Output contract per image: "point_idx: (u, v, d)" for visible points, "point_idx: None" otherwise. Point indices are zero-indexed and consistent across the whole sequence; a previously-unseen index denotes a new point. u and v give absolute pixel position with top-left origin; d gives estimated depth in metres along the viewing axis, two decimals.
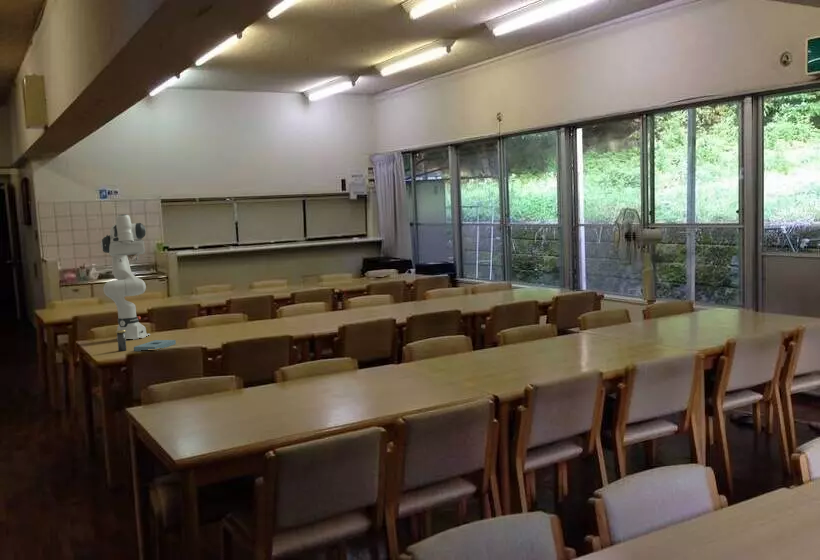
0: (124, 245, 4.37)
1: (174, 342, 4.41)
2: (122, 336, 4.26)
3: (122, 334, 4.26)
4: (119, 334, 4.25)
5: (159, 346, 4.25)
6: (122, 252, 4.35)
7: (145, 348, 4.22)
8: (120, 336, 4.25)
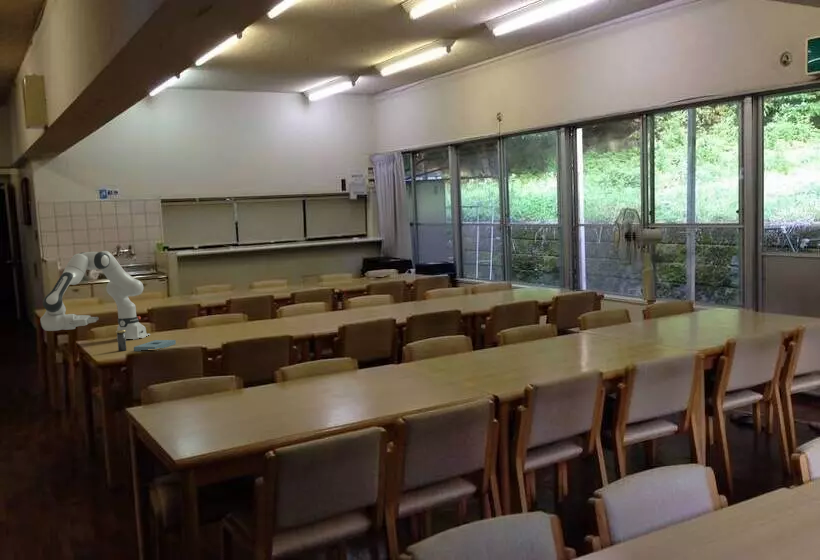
0: None
1: (174, 342, 4.41)
2: (122, 336, 4.26)
3: (122, 334, 4.26)
4: (119, 334, 4.25)
5: (159, 346, 4.25)
6: None
7: (145, 348, 4.22)
8: (120, 336, 4.25)
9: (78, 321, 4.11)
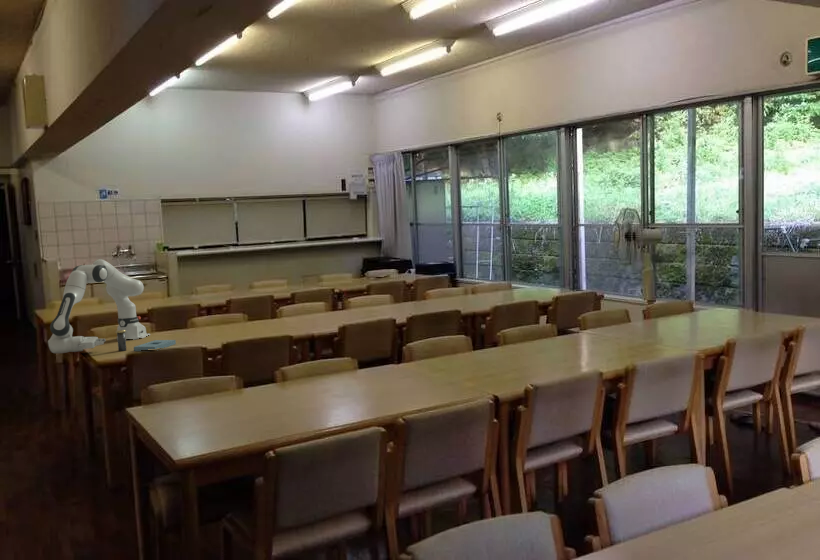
0: None
1: (174, 342, 4.41)
2: (122, 336, 4.26)
3: (122, 334, 4.26)
4: (119, 334, 4.25)
5: (159, 346, 4.25)
6: None
7: (145, 348, 4.22)
8: (120, 336, 4.25)
9: (86, 344, 4.13)
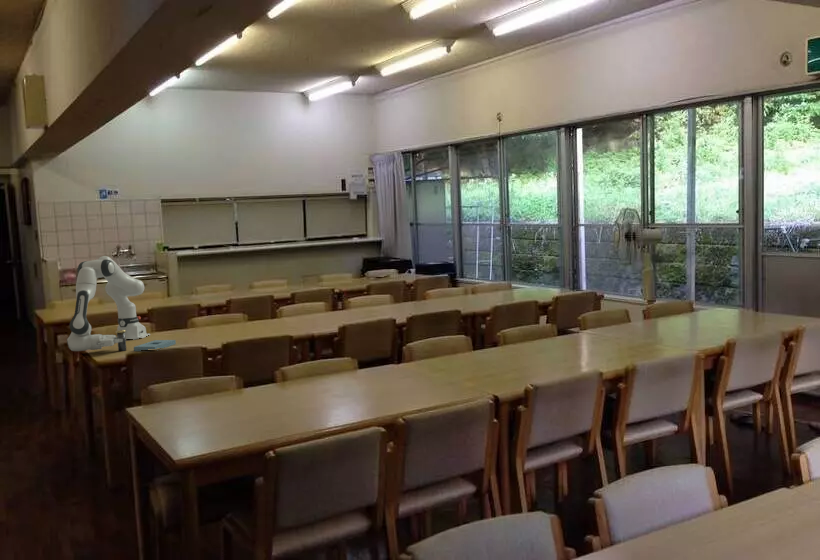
0: None
1: (174, 342, 4.41)
2: (122, 336, 4.26)
3: (122, 334, 4.26)
4: (119, 334, 4.25)
5: (159, 346, 4.25)
6: None
7: (145, 348, 4.22)
8: (120, 336, 4.25)
9: (105, 342, 4.16)
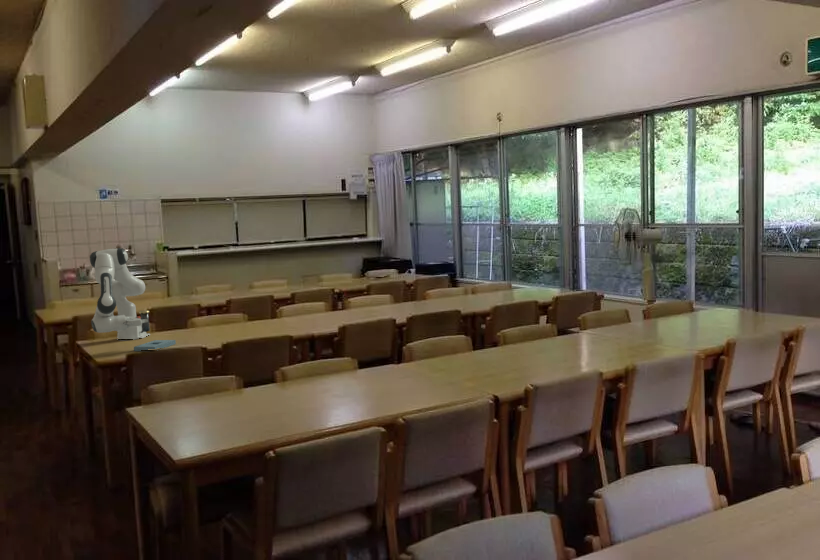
0: None
1: (174, 342, 4.41)
2: (147, 316, 4.28)
3: (146, 314, 4.28)
4: (144, 314, 4.27)
5: (159, 346, 4.25)
6: None
7: (145, 348, 4.22)
8: (145, 316, 4.28)
9: (134, 321, 4.17)
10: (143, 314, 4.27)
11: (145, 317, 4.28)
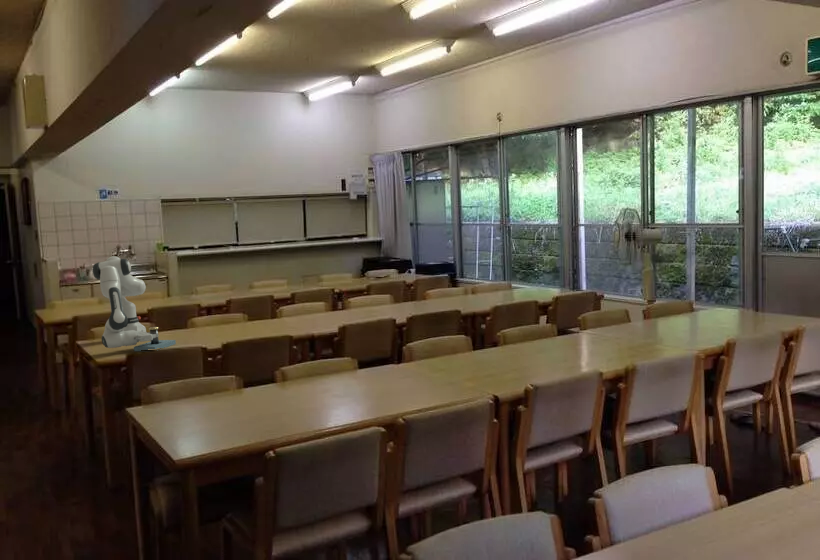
0: None
1: (174, 342, 4.41)
2: (156, 333, 4.31)
3: (156, 331, 4.31)
4: (153, 331, 4.30)
5: (159, 346, 4.25)
6: None
7: (145, 348, 4.22)
8: (154, 333, 4.31)
9: (145, 336, 4.20)
10: (153, 331, 4.30)
11: (155, 333, 4.31)
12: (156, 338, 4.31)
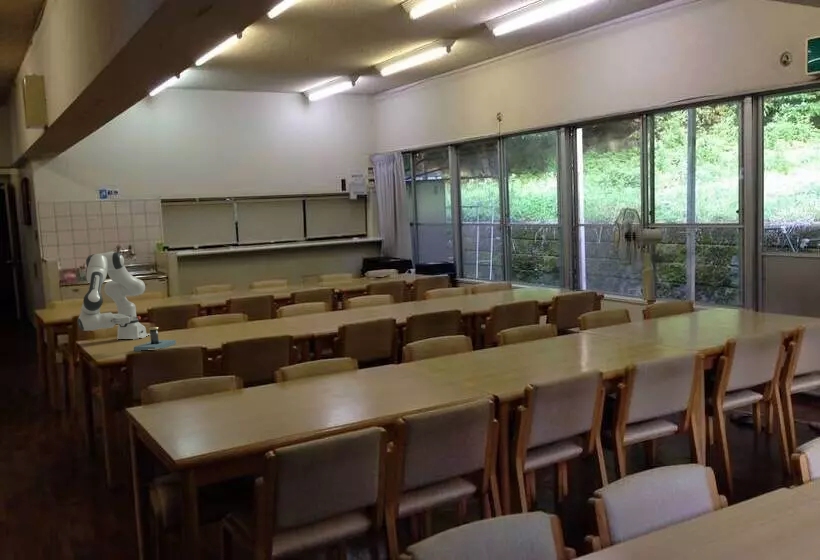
0: None
1: (174, 342, 4.41)
2: (156, 333, 4.31)
3: (156, 331, 4.31)
4: (153, 331, 4.30)
5: (159, 346, 4.25)
6: None
7: (145, 348, 4.22)
8: (154, 333, 4.31)
9: (122, 319, 4.12)
10: (153, 331, 4.30)
11: (155, 333, 4.31)
12: (156, 338, 4.31)
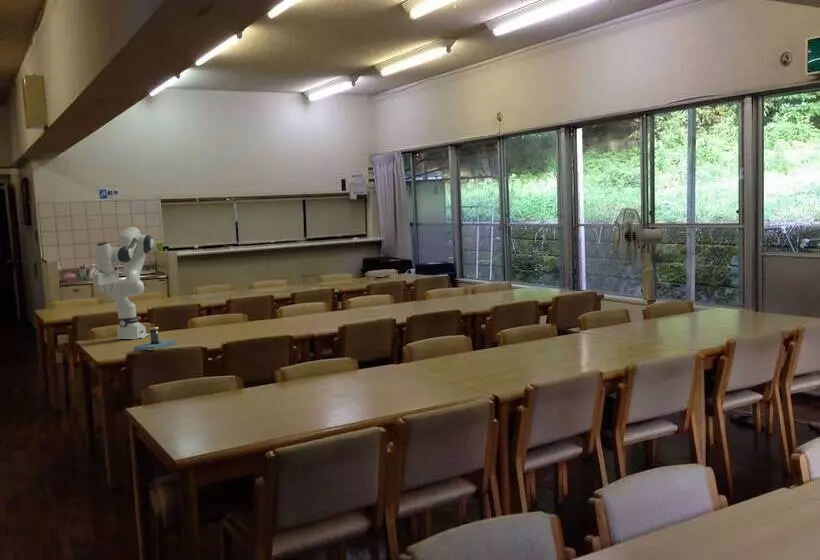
0: None
1: (174, 342, 4.41)
2: (156, 333, 4.31)
3: (156, 331, 4.31)
4: (153, 331, 4.30)
5: (159, 346, 4.25)
6: None
7: (145, 348, 4.22)
8: (154, 333, 4.31)
9: (96, 279, 4.28)
10: (153, 331, 4.30)
11: (155, 333, 4.31)
12: (156, 338, 4.31)
